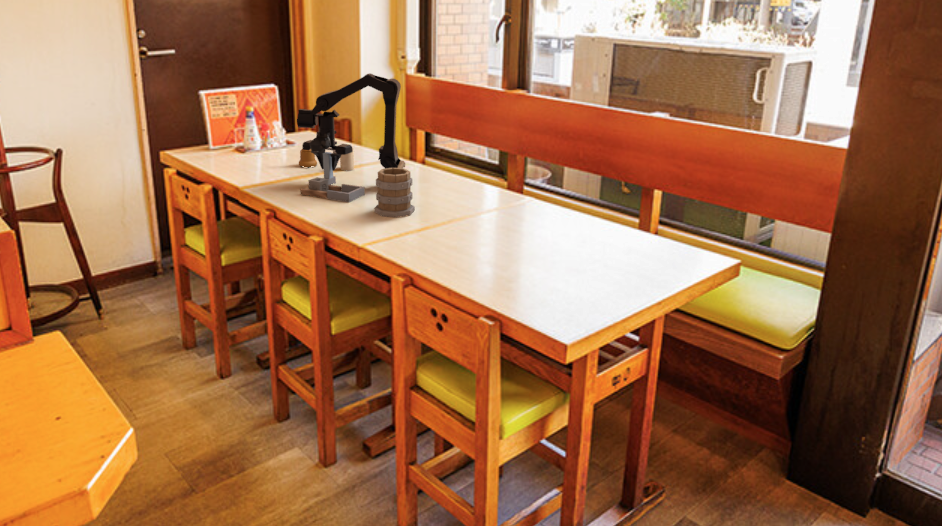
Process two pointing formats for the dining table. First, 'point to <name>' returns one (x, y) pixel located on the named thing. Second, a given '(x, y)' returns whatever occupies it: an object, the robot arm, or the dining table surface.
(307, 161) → the ornamental finial
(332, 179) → the grey notched beam
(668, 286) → the dining table surface
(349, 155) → the candle
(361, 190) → the box
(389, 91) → the robot arm
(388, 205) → the tankard
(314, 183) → the dice cube
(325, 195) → the slot rails
